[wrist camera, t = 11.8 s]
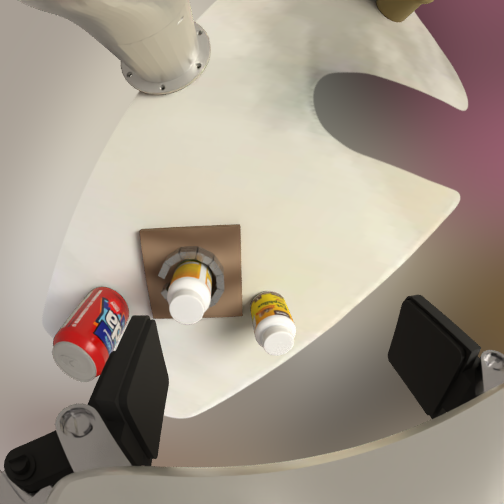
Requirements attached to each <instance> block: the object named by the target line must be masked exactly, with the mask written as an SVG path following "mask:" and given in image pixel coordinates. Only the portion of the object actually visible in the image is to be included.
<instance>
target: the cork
mask: <svg viewBox="0 0 504 504" xmlns="http://www.w3.org/2000/svg"><path fill="white" fill-rule="evenodd" d="M433 1H434V0H376V4H377V7H378V8H379V10H380V12H381V13H382V14H383V15H384V16H386V17H387V18H388V19H390V20H392V21H394V22H402V21H404V20H405V19H406V18H407V17H408V16H409V15H410V14H411V13H412V12H413V11H415V10H416V9H417V8H418V7H419V6H420V5H421V4H429V3H431V2H433Z"/></svg>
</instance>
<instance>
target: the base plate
mask: <svg viewBox="0 0 504 504" xmlns="http://www.w3.org/2000/svg"><path fill="white" fill-rule="evenodd" d="M140 240H141V247H142V255H143V262H144V269H145V275H146V281H147V287H148V293H149V298H150V304H151V309H152V314H153V319H164V318H173V317H172V316H171V314H170V311H169V303H168V302H167V301H166V299H165V298H164V297H163V295H162V294H161V291H162V288H163V286H164V285H165V284H167V283H170V284H171V281H172V278H173V275H174V272H175V270H176V268H177V266H178V265H179V264H180V263H181V262H183V261H184V260H180V261H179V262H177V263H175V264H174V265H172V266H171V267H170V268H169V270H168V273H167V275H166V277H165V279H163V278H161V277H159V276H158V275H159V272H160V270H161V268H162V266H163V264H164V261H165V260H166V258H167V256H168V255H169V254H171V253H172V252H174V251H175V250H177V249H179V248H180V247H181V248H182V247H187V246H198V248H199V247H201V248H204V249H206V250H208V251H210V252H212V253H213V255H214V254H215V256H216V257H217V259H218V260H219V262H220V263H221V265H222V266H223V268H224V292H223V294H222V296H221V297H220V299H219V301H218V302H217V303H216V305H214V306H212V307H210V308H209V309H207V310H206V311H205V312H204V314H203V317H202V318H211V317H235V316H243V314H242V278H241V235H240V224H239V225H213V226H191V227H171V228H153V229H141V230H140ZM185 260H187V259H185ZM206 265H207V264H206ZM207 266H208V265H207ZM208 267H209V266H208ZM209 268H210V267H209ZM210 271H211V274H212V286H211V292H212V290H213V288H214V286H215V285H216V283H217V282H216V275H215V274H214V273H213V271H212V270H211V268H210Z"/></svg>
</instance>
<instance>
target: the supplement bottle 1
mask: <svg viewBox="0 0 504 504" xmlns="http://www.w3.org/2000/svg"><path fill="white" fill-rule="evenodd" d="M211 286H212V274H211V271H210V268H209V267H208V266H207V265H206V264H205V263H203V262H200V261H198V260H196V259H187V260H184V261H183V262H181V263H180V264H179V265H178V266H177V268H176V270H175V272H174V275H173V278H172V281H171V284H170V286H169V289H168V293H167V300H168V303H169V311H170V314H171V316H172V317H173V319H174V320H176V321H177V322H179V323H181V324H185V325H190V324H195V323H197V322H198V321H199V320H200V319H201V318H202V317H203V314H204V312H205V311H206V310H207V309H208V307H209V305H210V301H211Z"/></svg>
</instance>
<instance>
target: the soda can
mask: <svg viewBox="0 0 504 504" xmlns="http://www.w3.org/2000/svg"><path fill="white" fill-rule="evenodd" d="M128 317H129V309H128V306H127V303H126V302H125V300H124V299H123V297H122V296H121V295H120V294H119V293H117V292H116V291H114V290H113V289H110V288H107V287H98V288H95V289H93V290H92V291H90V293H89V294H88V295H87V296H86V297H85V298H84V300H83V301H82V302H81V303H80V304H79V306H78V307H77V308H76V309H75V311H74V312H73V313H72V314H71V316H70V317H69V318H68V319H67V321H66V322H65V323H64V324H63V326H62V327H61V328H60V330H59V331H58V332H57V334H56V335H55V337H54V341H53V346H54V347H53V351H52V354H53V358H54V360H55V362H56V364H57V366H58V367H59V368H60V369H61V370H62V371H63V372H64V373H65V374H66V375H68V376H69V377H71V378H73V379H75V380H77V381H81V382H88V381H91V380H93V379H94V378H95V377H97V376H99V375H100V374H101V372H102V370H103V368H104V366H105V363H106V361H107V359H108V357H109V355H110V353H111V352H112V351H113V350H114V348H115V345H116V343H117V341H118V339H119V337H120V335H121V333H122V331H123V329H124V327H125V325H126V323H127V321H128Z"/></svg>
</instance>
